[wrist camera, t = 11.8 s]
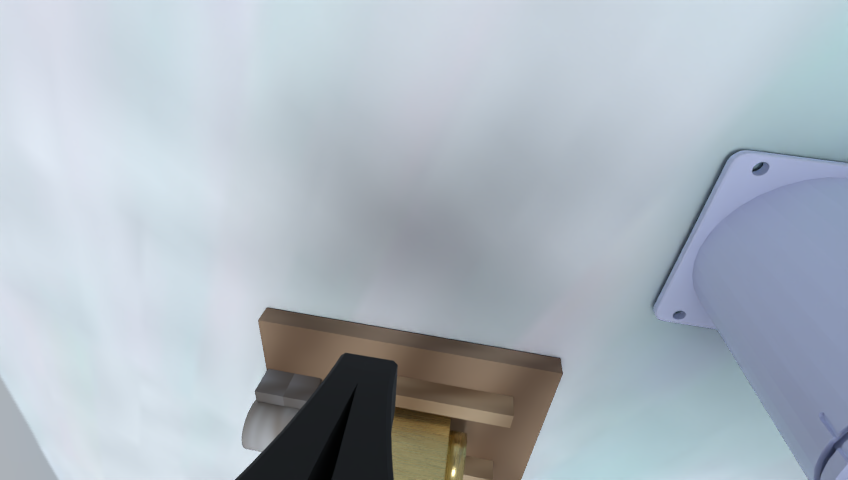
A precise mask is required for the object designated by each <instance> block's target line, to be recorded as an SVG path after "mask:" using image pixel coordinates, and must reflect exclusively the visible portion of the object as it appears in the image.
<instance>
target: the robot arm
mask: <svg viewBox="0 0 848 480" xmlns="http://www.w3.org/2000/svg"><path fill="white" fill-rule="evenodd" d="M760 162H764V163H763V166H762V167H761V168H760V169H759V170H757V171H752V169H753V167H754V166H755V165H756V164H758V163H760ZM653 311H654V313H655V315H656V317H657V318H658V319H659V320H662V321H668V322H674V323H680V324H686V325H692V326H698V327H705V328H711V329H717V330H718V332H719V334H720V335H721V337H722V338H723V340H724V342H725V343H726V345H727V347H728V348H729V350H730V352H731V353H732V355H733V357H734V358H735V360H736V361H737V363H738V365H739V366H740V368H741V370H742V371H743V373H744V375H745V376H746V378H747V380H748V381H749V383H750V384H751V386H752V388H753V389H754V391H755V393H756V394H757V396H758V398H759V399H760V401H761V403H762V404H763V406H764V408H765V409H766V411H767V412H768V414H769V416H770V417H771V419H772V421H773V422H774V424H775V426H776V427H777V429H778V431H779V432H780V434H781V435H782V437H783V439H784V440H785V442H786V444H787V445H788V447H789V449H790V450H791V452H792V454H793V455H794V457H795V458H796V460H797V462H798V463H799V465H800V467H801V468H802V470H803V472H804V473H805V475H806V477H807V478H808V480H848V163H844V162H836V161H828V160H821V159H813V158H805V157H797V156H790V155H782V154H774V153H766V152H759V151H751V150H742V151H739V152H736V153H735V154H733V155H732V156H731V157H730V158H729V159H728V161H727V162H726V164H725V166H724V168H723V170H722V172H721V174H720V176H719V178H718V180H717V182H716V184H715V186H714V188H713V190H712V192H711V194H710V196H709V198H708V200H707V202H706V204H705V206H704V208H703V210H702V212H701V214H700V216H699V218H698V220H697V222H696V224H695V226H694V228H693V230H692V232H691V234H690V236H689V238H688V240H687V241H686V243H685V245H684V247H683V249H682V251H681V253H680V255H679V257H678V259H677V261H676V263H675V265H674V267H673V269H672V271H671V273H670V275H669V277H668V279H667V281H666V283H665V285H664V287H663V289H662V291H661V293H660V295H659V297H658V299H657V301H656V303H655V305H654V308H653ZM677 311H681V312H680V313H677V314H674V313H675V312H677ZM397 370H398V365H397V364H396V363H395V362H394V361H393V360H387V359H381V358H375V357H369V356H363V355H357V354H351V353H344V354H342V355H341V356H340V358H339V359H338V361H337V362H336V364H335V365H334V366H333V368H332V369H331V371H330V372H329V373H328V375H327V376H326V377H325V379H324V380H323V381H322V383H321V384H320V385H319V387H318V388H317V389H316V390H315V392H314V393H313V394H312V395H311V397H310V398H309V399H308V400H307V402H306V403H305V404H304V405H303V406H302V408H301V409H300V410H299V411H298V412H297V413H296V415H295V416H294V417H293V418H292V419H291V421H290V422H289V423H288V424H287V425H286V426H285V428H284V429H283V430H282V431H281V432H280V433H279V434H278V435H277V436H276V438H275V439H274V440H273V441H272V442H271V443H270V444H269V445H268V446H267V447H266V448H265V449H264V450H263V452H262V453H261V454H260V455H259V456H258V457H257V458H256V459H255V460H254V461H253V462H252V463H251V464H250V465H249V466H248V467H247V468H246V469H245V470H244V471H243V472H242V473H241V474H240V475H239V476H238V477H237V478H236V479H235V480H394V476H393V462H392V438H391V432H392V425H393V419H394V413H395V402H396V386H397Z"/></svg>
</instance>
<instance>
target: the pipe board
mask: <svg viewBox="0 0 848 480" xmlns="http://www.w3.org/2000/svg"><path fill="white" fill-rule="evenodd" d="M258 322H259V328H260V334H261V339H262V345H263V351H264V357H265V362H266V368H267V371H266V373H265V375H264V377H263V378H262V380H261V382H260V383H259V385H258V387H257V388H256V390H255V395H256V400H255V402H254V403H253V405H252V406H251V408H250V410H249V412H248V415H247V417H246V420H245V423H244V427H243V432H242V445H243V447H244V448H245V449H250V450H255V451H260V452H263V450H264V449H265V448H266V447H267V446H268V445H269V444H270V443H271V442H272V441H273V440H274V439H275V438H276V436H277V435H278V434H279V433H280V432H281V431H282V430H283V429H284V428H285V426H286V425H287V424H288V423H289V422H290V421H291V419H292V418H293V417H294V416H295V415H296V413H297V412H298V411H299V410H300V409H301V408H302V406H303V405H304V404H305V403H306V402H307V400H308V399H309V398H310V397H311V395H312V394H313V393H314V392H315V390H316V389H317V388H318V387H319V385H320V384H321V383H322V381H323V380H324V379H325V377H326V376H327V375H328V373H329V372H330V371H331V369H332V368H333V366H334V365H335V364H336V362H337V361H338V359H339V358H340V356H341V355H342V354H344V353H351V354H357V355H363V356H369V357H375V358H381V359H387V360H393V361H394V362H395V363H396V364H397V365H398V370H397V386H396V402H395V407H400V408H405V409H411V410H416V411H421V412H427V413H432V414H437V415H443V416H448V417H451V422H450V430H453V431H459V432H464V433H467V448H466V459H465V468H464V475H463V480H521V478H522V476H523V473H524V471H525V468H526V466H527V463H528V461H529V458H530V455H531V453H532V450H533V448H534V445H535V443H536V440H537V438H538V435H539V433H540V430H541V428H542V425H543V423H544V420H545V417H546V415H547V412H548V410H549V407H550V405H551V402H552V400H553V397H554V395H555V392H556V390H557V387H558V384H559V382H560V379H561V377H562V374H563V372H562V366H561V359H560V358H555V357H549V356H543V355H537V354H531V353H526V352H520V351H514V350H508V349H502V348H497V347H491V346H485V345H479V344H474V343H468V342H462V341H456V340H450V339H445V338H439V337H433V336H427V335H421V334H416V333H410V332H404V331H398V330H393V329H387V328H381V327H375V326H369V325H364V324H358V323H352V322H346V321H340V320H335V319H329V318H323V317H317V316H312V315H306V314H300V313H294V312H288V311H283V310H277V309H271V308H266V310H265V311H264V313H263V314H262V315H261V317H260V318H259V320H258Z"/></svg>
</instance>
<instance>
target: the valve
mask: <svg viewBox="0 0 848 480" xmlns="http://www.w3.org/2000/svg"><path fill="white" fill-rule="evenodd" d="M450 422H451V417H448V416H443V415H437V414H432V413H427V412H421V411H416V410H411V409H405V408H400V407H395V413H394V419H393V425H392V432H391V438H392V462H393V476H394V480H463V475H464V468H465V459H466V448H467V433H464V432H459V431H453V430H450Z"/></svg>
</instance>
